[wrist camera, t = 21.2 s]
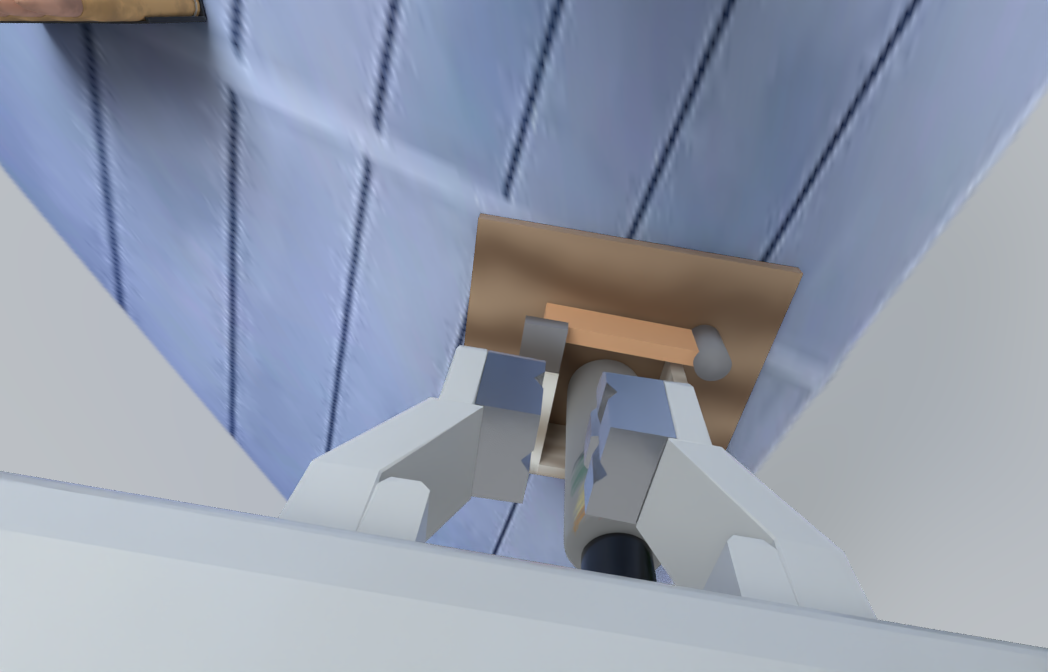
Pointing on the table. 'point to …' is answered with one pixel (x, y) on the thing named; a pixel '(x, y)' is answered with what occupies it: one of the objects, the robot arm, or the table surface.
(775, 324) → the cradle
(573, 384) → the lotion bottle
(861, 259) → the table surface
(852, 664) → the robot arm
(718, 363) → the arm
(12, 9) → the ammunition clip
